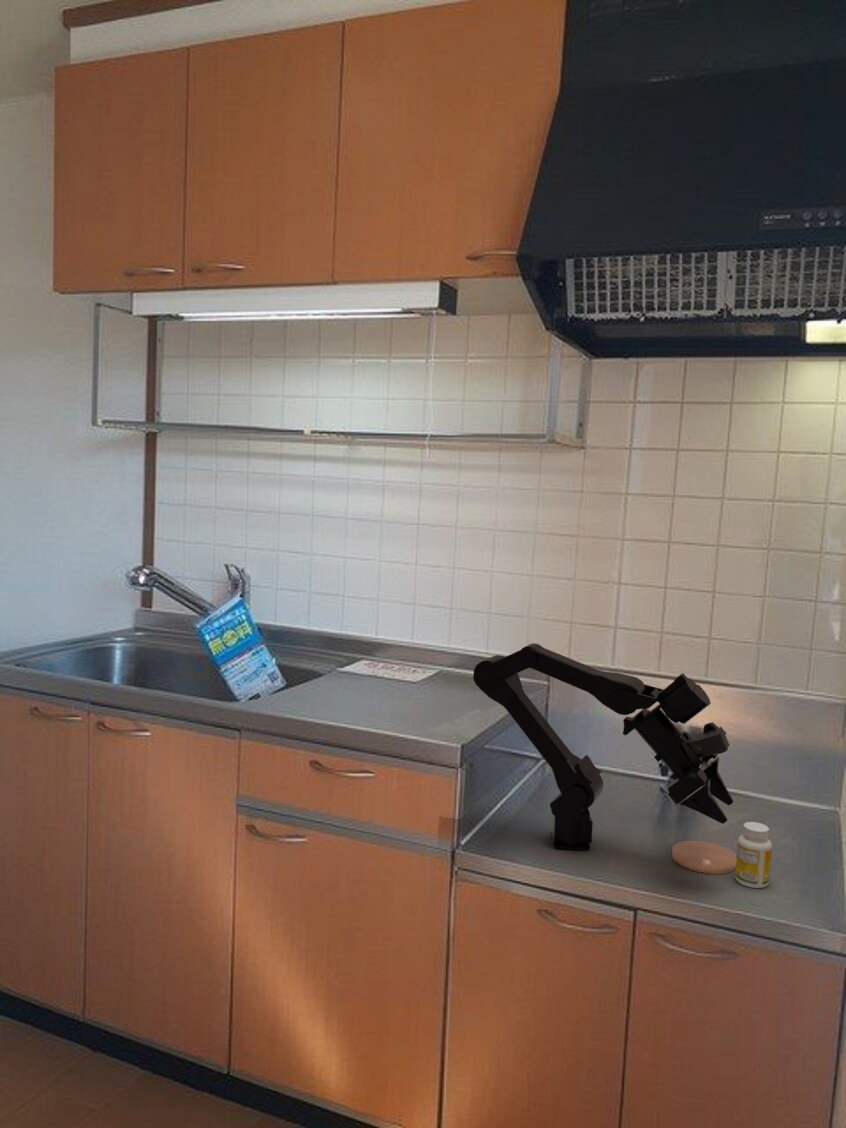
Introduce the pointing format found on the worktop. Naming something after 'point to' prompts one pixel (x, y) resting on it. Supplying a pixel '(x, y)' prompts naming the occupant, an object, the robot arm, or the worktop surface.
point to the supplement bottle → (753, 856)
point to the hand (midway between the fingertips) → (728, 812)
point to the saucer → (704, 857)
